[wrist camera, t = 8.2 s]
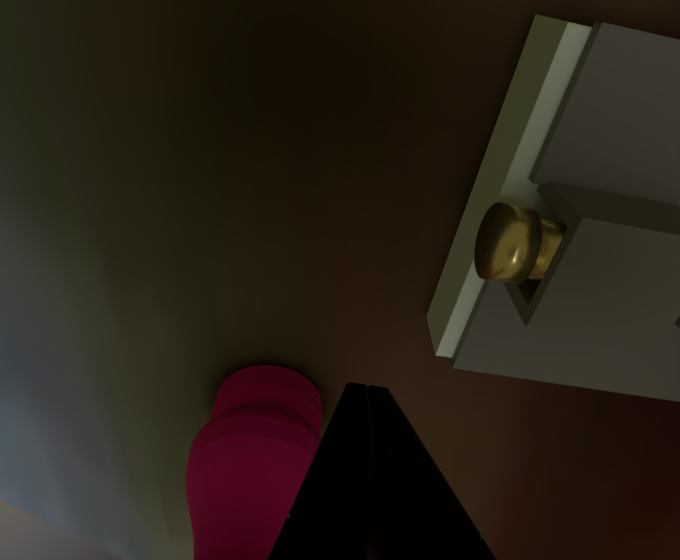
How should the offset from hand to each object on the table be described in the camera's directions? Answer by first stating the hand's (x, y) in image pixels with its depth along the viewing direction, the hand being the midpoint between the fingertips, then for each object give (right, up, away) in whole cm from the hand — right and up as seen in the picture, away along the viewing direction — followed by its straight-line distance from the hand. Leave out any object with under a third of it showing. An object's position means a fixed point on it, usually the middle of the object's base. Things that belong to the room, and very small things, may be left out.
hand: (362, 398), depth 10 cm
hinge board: (+12, +5, +12) cm, 18 cm away
